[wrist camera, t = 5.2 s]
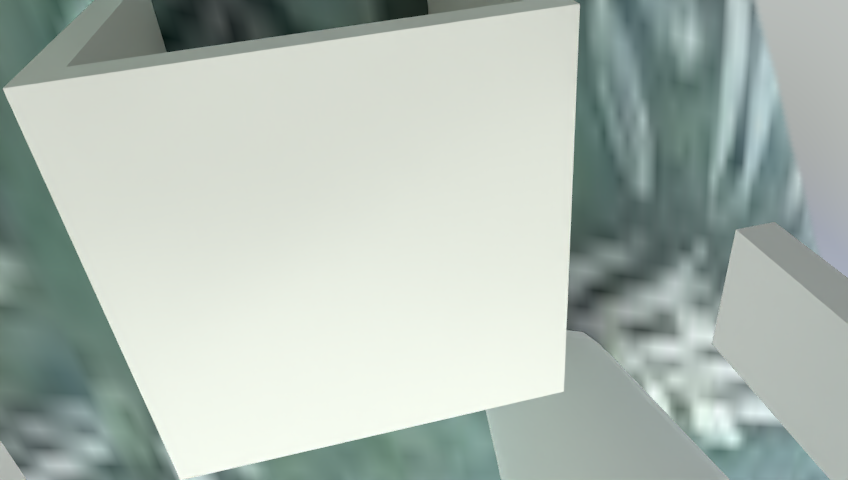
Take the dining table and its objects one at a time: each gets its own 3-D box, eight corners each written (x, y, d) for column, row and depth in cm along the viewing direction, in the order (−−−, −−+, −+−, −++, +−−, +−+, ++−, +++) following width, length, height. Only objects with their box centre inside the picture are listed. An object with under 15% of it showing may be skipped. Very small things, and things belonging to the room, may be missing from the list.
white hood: (207, 261, 24) (180, 480, 16) (115, -20, 19) (2, 88, 11) (464, 212, 26) (564, 391, 17) (447, -63, 20) (580, 3, 12)
